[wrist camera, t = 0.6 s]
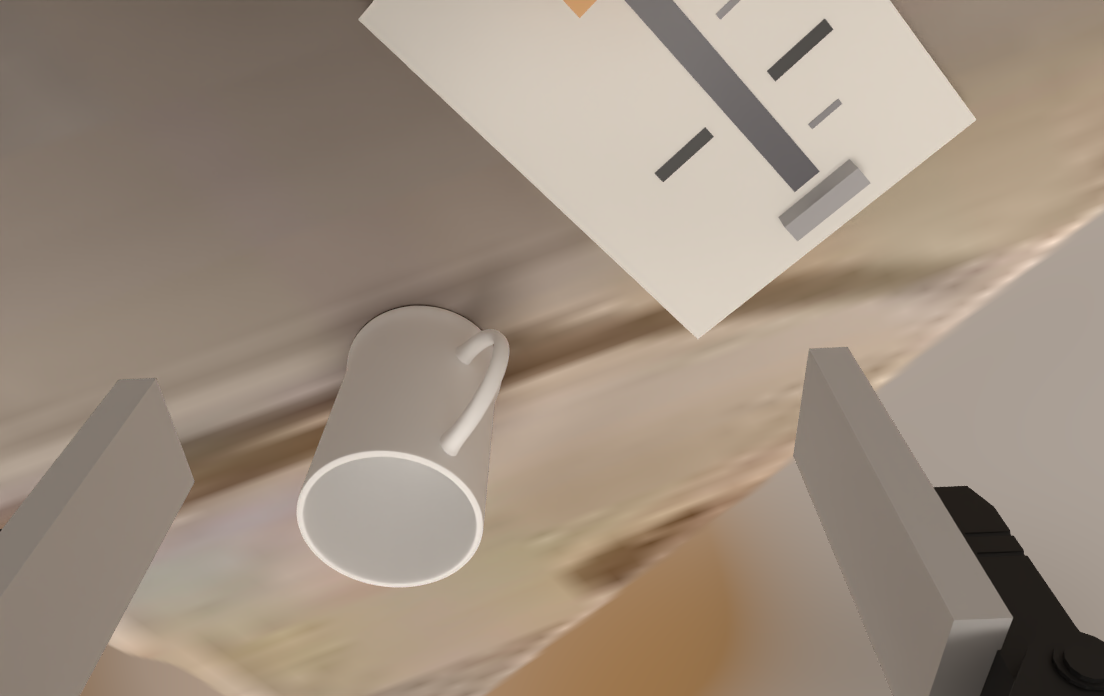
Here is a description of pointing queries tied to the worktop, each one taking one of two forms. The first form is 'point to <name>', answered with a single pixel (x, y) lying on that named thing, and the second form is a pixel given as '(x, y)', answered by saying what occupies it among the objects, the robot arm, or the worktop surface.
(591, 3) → the fader
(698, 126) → the console
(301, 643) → the worktop surface
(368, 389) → the mug
